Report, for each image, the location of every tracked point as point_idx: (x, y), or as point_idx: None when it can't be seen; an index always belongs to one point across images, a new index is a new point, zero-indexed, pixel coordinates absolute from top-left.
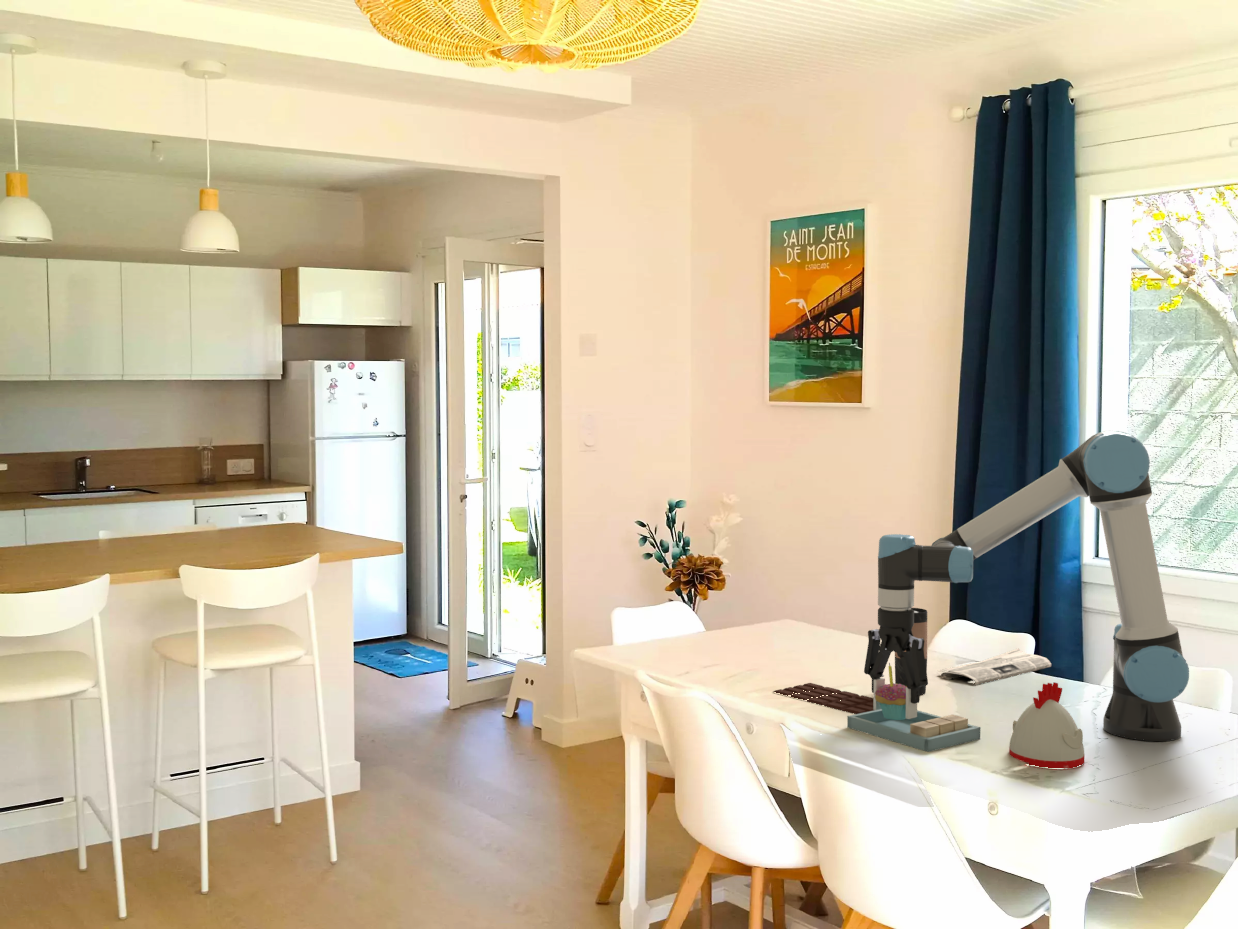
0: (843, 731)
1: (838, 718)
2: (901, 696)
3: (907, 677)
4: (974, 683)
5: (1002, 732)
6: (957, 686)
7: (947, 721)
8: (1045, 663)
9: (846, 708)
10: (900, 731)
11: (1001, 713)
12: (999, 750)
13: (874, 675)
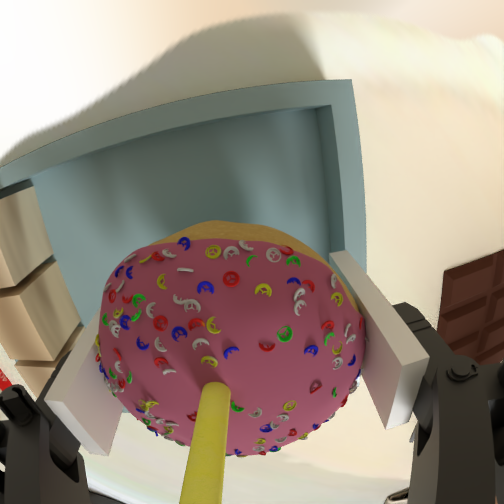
0: (321, 63)
1: (459, 182)
2: (96, 341)
3: (29, 467)
4: (392, 497)
5: (127, 447)
6: (403, 484)
7: (13, 350)
8: None
9: (490, 266)
10: (18, 160)
11: (250, 493)
12: (6, 361)
13: (442, 388)
